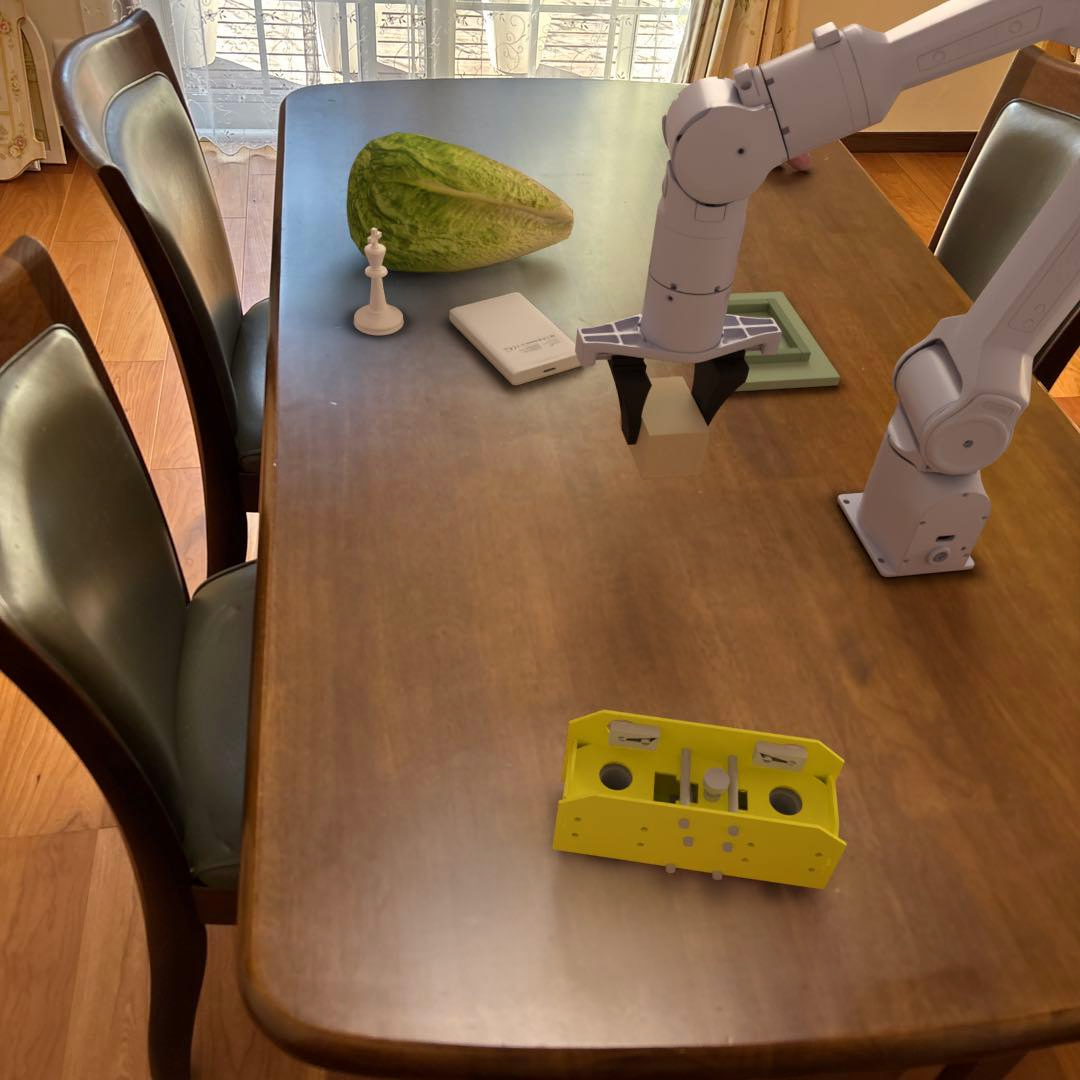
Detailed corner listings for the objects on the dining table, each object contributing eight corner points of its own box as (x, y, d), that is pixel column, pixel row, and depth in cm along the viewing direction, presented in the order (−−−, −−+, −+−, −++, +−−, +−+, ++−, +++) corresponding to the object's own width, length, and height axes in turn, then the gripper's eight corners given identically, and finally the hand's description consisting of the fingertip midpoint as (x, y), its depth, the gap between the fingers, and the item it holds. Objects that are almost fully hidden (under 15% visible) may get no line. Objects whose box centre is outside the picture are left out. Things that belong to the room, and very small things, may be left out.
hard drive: (518, 304, 106) (584, 365, 99) (449, 323, 103) (512, 387, 95) (519, 290, 105) (586, 350, 98) (449, 308, 102) (512, 372, 94)
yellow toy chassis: (814, 816, 64) (850, 737, 58) (820, 901, 60) (860, 825, 54) (561, 779, 65) (572, 698, 59) (550, 860, 61) (561, 782, 55)
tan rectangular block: (700, 475, 77) (710, 431, 74) (641, 480, 76) (649, 435, 73) (674, 419, 82) (682, 375, 79) (618, 423, 81) (625, 379, 78)
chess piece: (343, 326, 101) (336, 232, 94) (372, 304, 104) (367, 212, 97) (385, 341, 100) (381, 246, 93) (413, 318, 103) (410, 225, 96)
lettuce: (576, 306, 108) (602, 173, 102) (343, 280, 103) (353, 138, 96) (551, 263, 121) (572, 143, 114) (342, 239, 115) (351, 110, 108)
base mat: (837, 385, 99) (843, 368, 98) (720, 392, 97) (724, 375, 95) (780, 299, 110) (784, 282, 109) (673, 304, 108) (676, 287, 107)
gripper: (771, 240, 73) (735, 397, 82) (572, 248, 70) (558, 409, 79) (808, 291, 68) (765, 452, 77) (596, 302, 65) (578, 466, 74)
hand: (662, 434), depth 78 cm, fingers closed on tan rectangular block, 4 cm apart
